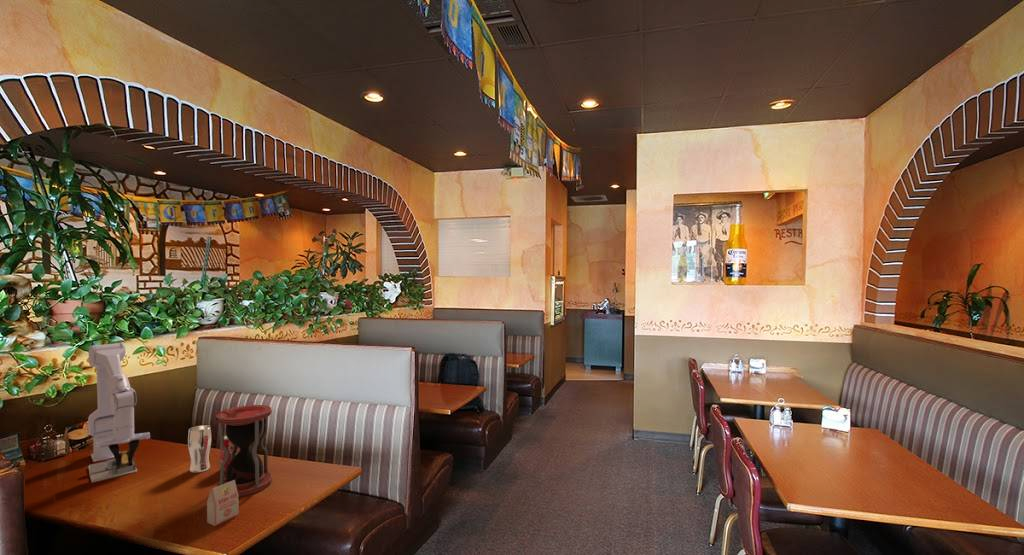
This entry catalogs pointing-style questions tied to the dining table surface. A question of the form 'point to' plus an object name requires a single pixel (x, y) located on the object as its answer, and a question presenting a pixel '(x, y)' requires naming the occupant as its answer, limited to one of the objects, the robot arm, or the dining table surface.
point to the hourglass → (245, 447)
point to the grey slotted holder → (109, 464)
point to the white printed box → (222, 503)
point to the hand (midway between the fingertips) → (124, 463)
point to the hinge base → (109, 471)
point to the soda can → (230, 447)
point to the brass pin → (124, 459)
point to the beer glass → (199, 448)
